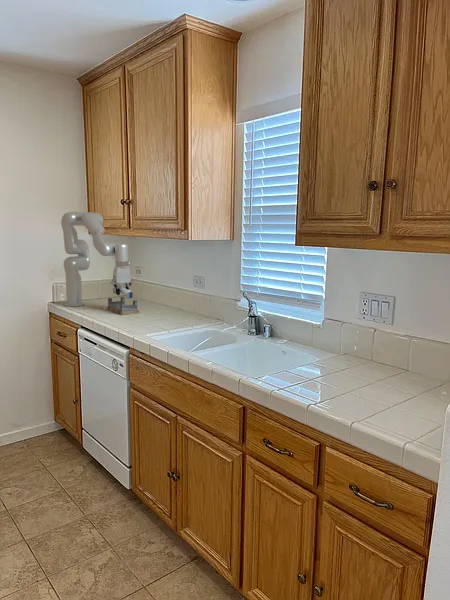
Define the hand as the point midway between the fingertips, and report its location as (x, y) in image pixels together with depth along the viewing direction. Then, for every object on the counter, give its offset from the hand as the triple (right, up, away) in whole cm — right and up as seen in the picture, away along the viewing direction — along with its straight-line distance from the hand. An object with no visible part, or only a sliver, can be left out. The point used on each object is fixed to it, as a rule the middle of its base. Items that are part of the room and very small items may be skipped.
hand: (122, 294), depth 278 cm
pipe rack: (0, -11, +2) cm, 11 cm away
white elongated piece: (0, -1, 0) cm, 1 cm away
